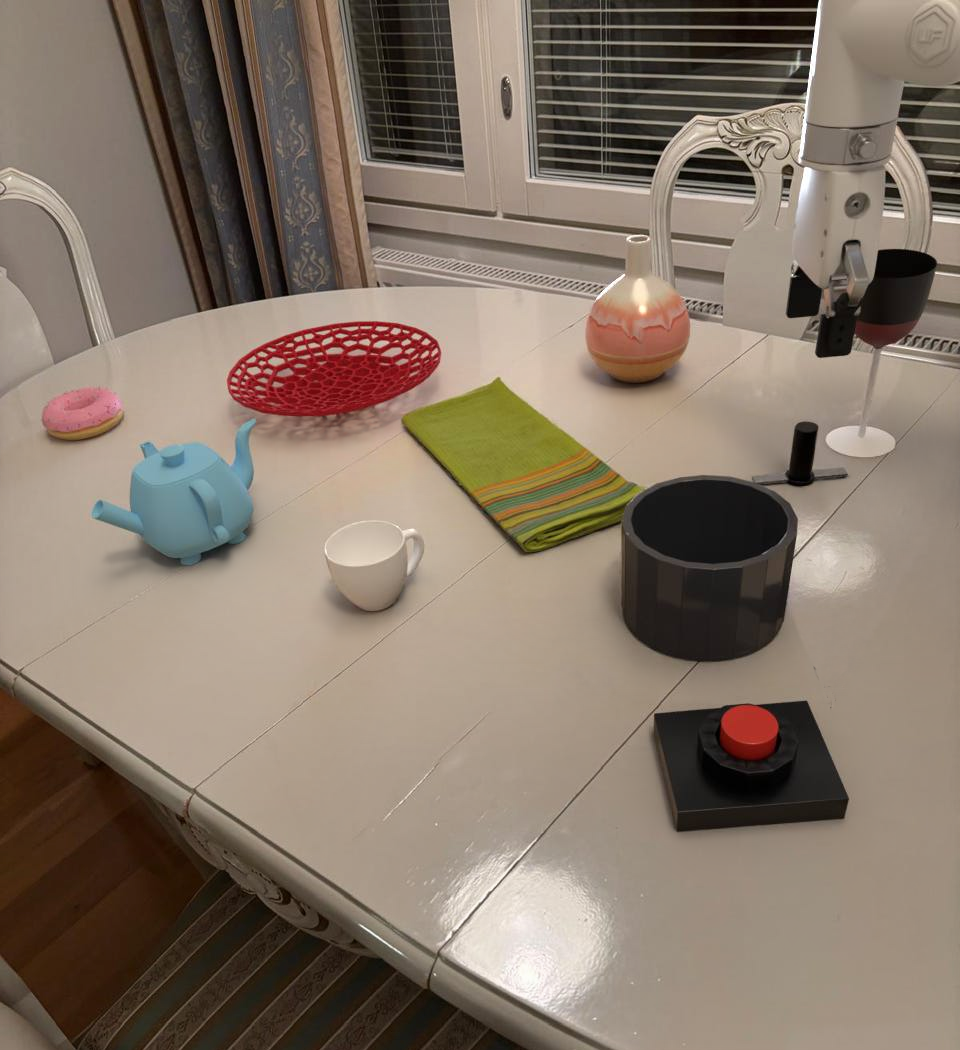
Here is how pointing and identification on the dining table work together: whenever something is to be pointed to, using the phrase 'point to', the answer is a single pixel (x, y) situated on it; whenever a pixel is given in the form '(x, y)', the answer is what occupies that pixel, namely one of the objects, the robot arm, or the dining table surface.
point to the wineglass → (886, 334)
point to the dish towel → (521, 466)
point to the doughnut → (82, 413)
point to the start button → (748, 732)
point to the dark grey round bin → (706, 566)
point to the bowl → (334, 371)
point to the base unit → (747, 771)
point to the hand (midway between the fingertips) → (816, 335)
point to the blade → (802, 460)
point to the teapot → (187, 498)
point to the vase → (637, 321)
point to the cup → (372, 562)
